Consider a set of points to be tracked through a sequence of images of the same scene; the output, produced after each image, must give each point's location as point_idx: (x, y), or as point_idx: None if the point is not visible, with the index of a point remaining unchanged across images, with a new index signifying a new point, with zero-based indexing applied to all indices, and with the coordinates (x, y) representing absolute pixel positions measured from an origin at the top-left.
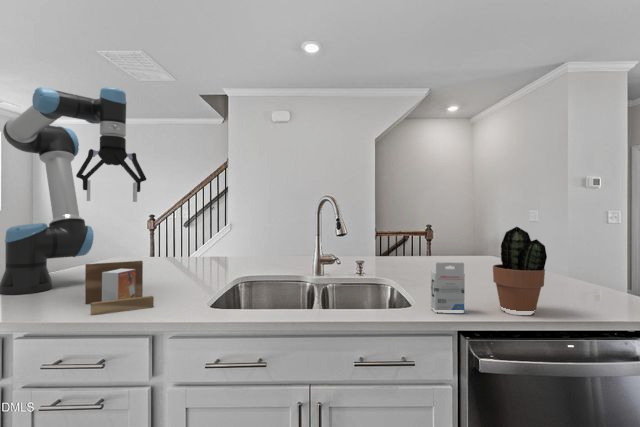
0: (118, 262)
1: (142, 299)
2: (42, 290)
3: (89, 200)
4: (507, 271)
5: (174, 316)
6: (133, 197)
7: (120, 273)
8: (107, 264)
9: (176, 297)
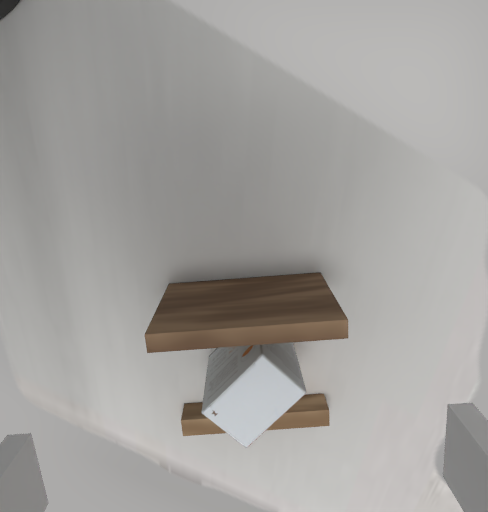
0: (258, 339)
1: (300, 425)
2: (12, 6)
3: (40, 506)
4: None
5: (344, 502)
6: (470, 461)
7: (253, 440)
8: (219, 346)
9: (406, 328)
